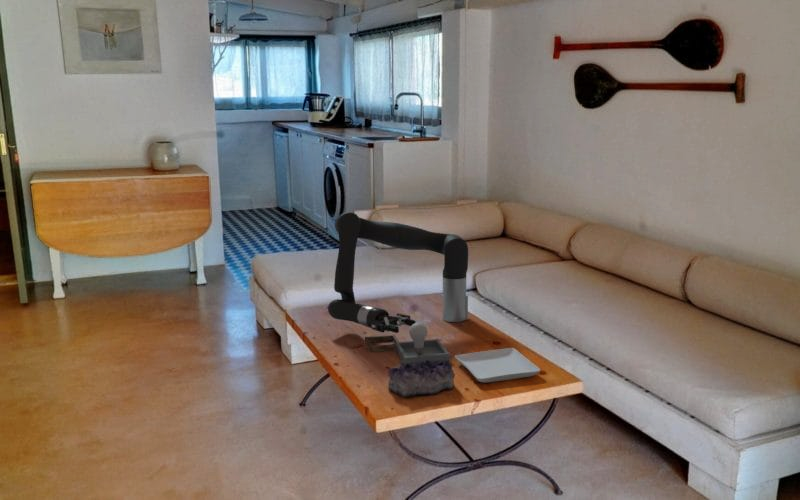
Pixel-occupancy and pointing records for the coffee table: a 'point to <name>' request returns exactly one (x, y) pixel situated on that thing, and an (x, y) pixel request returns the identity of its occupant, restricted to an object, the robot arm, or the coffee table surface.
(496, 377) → the salad plate
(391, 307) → the coffee table surface
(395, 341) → the square wooden frame
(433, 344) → the tray
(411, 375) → the geode
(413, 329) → the lightbulb
